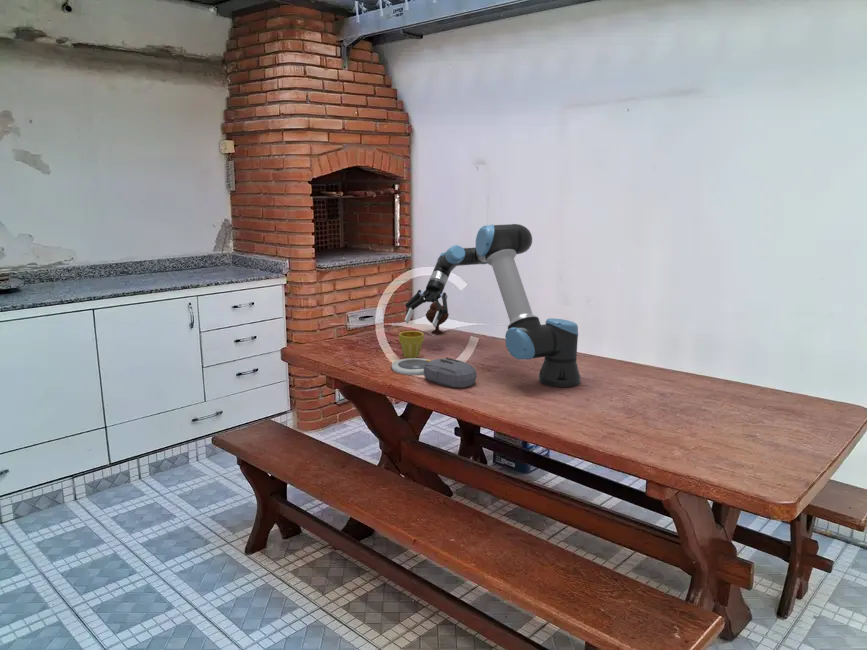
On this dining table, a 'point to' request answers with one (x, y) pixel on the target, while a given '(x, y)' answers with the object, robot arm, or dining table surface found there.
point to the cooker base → (410, 366)
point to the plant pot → (411, 343)
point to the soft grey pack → (450, 372)
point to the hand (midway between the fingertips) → (419, 323)
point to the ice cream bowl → (431, 315)
